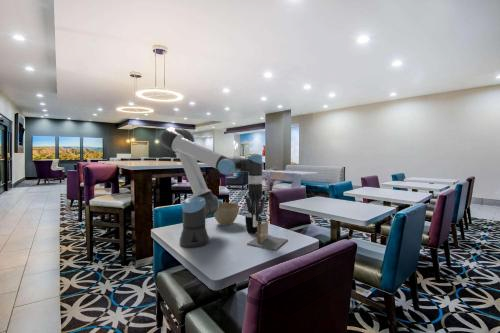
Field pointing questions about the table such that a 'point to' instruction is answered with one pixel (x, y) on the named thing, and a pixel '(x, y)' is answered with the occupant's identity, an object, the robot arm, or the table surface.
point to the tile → (262, 232)
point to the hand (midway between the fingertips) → (255, 226)
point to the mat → (269, 243)
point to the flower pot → (226, 213)
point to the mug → (251, 223)
